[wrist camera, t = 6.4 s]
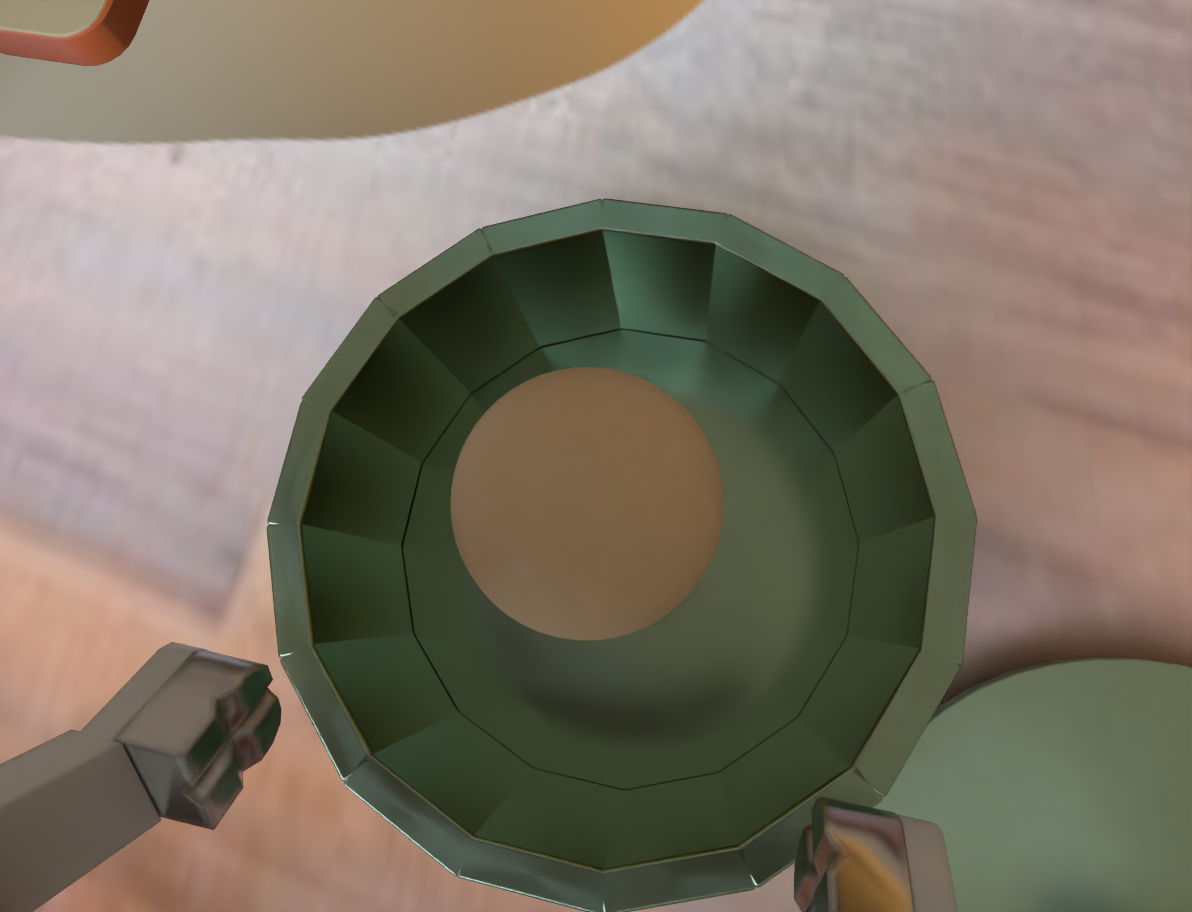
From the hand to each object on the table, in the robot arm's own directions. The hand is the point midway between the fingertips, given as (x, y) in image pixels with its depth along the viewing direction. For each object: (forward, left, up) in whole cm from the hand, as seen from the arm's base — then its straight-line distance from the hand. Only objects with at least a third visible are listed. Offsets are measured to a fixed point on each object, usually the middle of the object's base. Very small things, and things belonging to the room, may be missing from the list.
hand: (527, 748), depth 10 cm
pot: (-1, +4, -10) cm, 11 cm away
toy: (-1, +4, -10) cm, 11 cm away
